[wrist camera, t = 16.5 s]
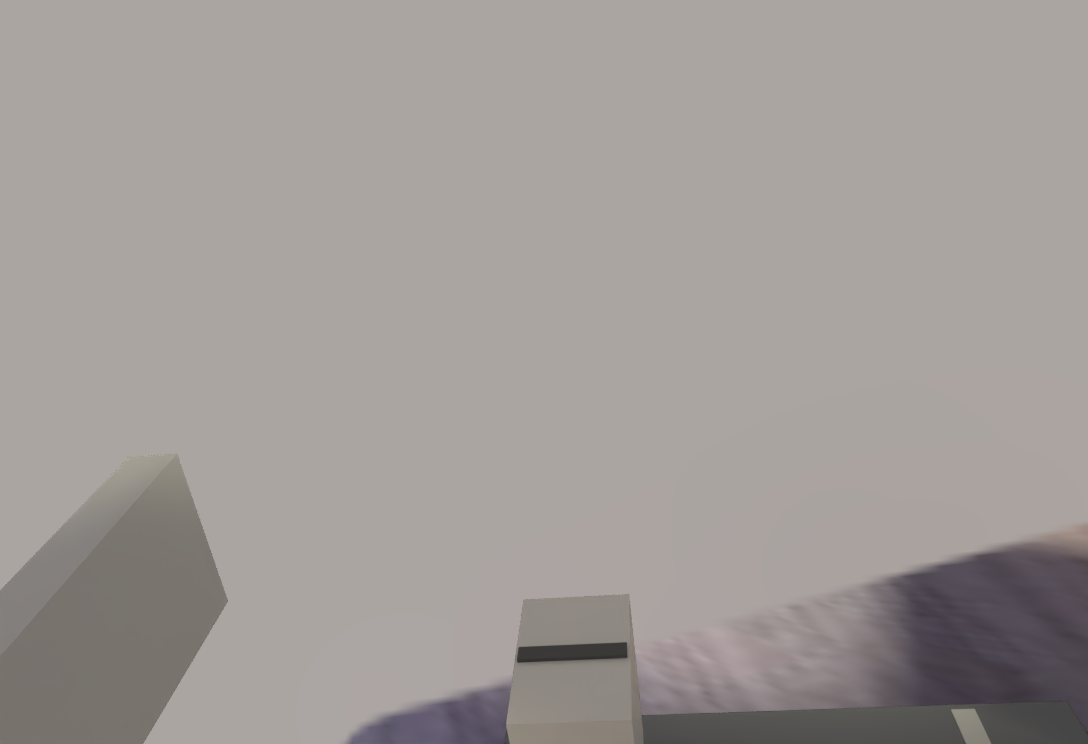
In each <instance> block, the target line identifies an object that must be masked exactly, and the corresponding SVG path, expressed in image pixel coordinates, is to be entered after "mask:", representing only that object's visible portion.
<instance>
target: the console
mask: <svg viewBox="0 0 1088 744" xmlns="http://www.w3.org/2000/svg"><path fill="white" fill-rule="evenodd" d="M642 725H643V741H644V744H1088V734H1087V733H1086V731H1085V729H1084V728H1083V726H1082V724H1081V723H1080V721H1079V720H1078V718H1077V716H1076V715H1075V713H1074V711H1073V710H1072V708H1071V706H1070V705H1069V703H1068V701H1048V702H1019V703H990V704H961V705H932V706H903V707H874V708H844V709H815V710H786V711H757V712H728V713H699V714H669V715H642ZM505 744H510V742H509V737H508V732H507V729H506V736H505Z"/></svg>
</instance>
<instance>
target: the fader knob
mask: <svg viewBox="0 0 1088 744" xmlns="http://www.w3.org/2000/svg"><path fill="white" fill-rule="evenodd" d="M506 727H507V732H508V737H509V742H510V744H644V741H643V725H642V715H641V705H640V696H639V686H638V676H637V667H636V657H635V647H634V638H633V628H632V618H631V609H630V600H629V594H624V595H606V596H584V597H565V598H545V599H526V600H523V607H522V614H521V622H520V629H519V636H518V643H517V650H516V657H515V664H514V671H513V678H512V685H511V692H510V700H509V707H508V714H507V721H506Z"/></svg>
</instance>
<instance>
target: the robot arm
mask: <svg viewBox="0 0 1088 744" xmlns="http://www.w3.org/2000/svg"><path fill="white" fill-rule="evenodd" d="M227 602H228V600H227V597H226V594H225V591H224V588H223V585H222V582H221V579H220V576H219V574H218V571H217V568H216V565H215V562H214V559H213V556H212V553H211V550H210V548H209V545H208V542H207V539H206V536H205V533H204V530H203V527H202V525H201V522H200V519H199V516H198V513H197V510H196V507H195V504H194V501H193V498H192V496H191V493H190V490H189V487H188V484H187V481H186V478H185V475H184V472H183V470H182V467H181V464H180V461H179V458H178V455H177V454H164V455H151V456H136V457H128V458H127V459H126V460H125V461H124V462H123V463H122V464H121V465H120V467H119V468H118V469H117V470H116V471H115V472H114V473H113V474H112V475H111V476H110V477H109V478H108V479H107V480H106V481H105V482H104V483H103V484H102V485H101V486H100V487H99V488H98V489H97V490H96V491H95V493H93V495H92V496H91V497H90V498H89V499H88V500H87V501H86V502H85V503H84V504H83V505H82V506H81V507H80V508H79V509H78V510H77V511H76V512H75V513H74V514H73V515H72V516H71V518H69V519H68V521H67V522H66V523H65V524H64V525H63V526H62V527H61V528H60V529H59V530H58V531H57V532H56V533H55V534H54V535H53V536H52V537H51V538H50V539H49V540H48V541H47V542H46V544H44V546H43V547H42V548H41V549H40V550H39V551H38V552H37V553H36V554H35V555H34V556H33V557H32V558H31V559H30V560H29V561H28V562H27V563H26V564H25V565H24V566H23V568H22V569H21V570H19V572H17V574H16V575H15V576H14V577H13V578H12V579H11V580H10V581H9V582H8V583H7V584H6V585H5V586H4V587H3V588H2V589H1V590H0V744H143V743H144V741H145V740H146V738H147V736H148V735H149V733H150V731H151V729H152V728H153V726H154V724H155V723H156V721H157V719H158V718H159V716H160V714H161V713H162V711H163V709H164V707H165V706H166V704H167V702H168V701H169V699H170V698H171V696H172V694H173V692H174V691H175V689H176V687H177V686H178V684H179V682H180V681H181V679H182V677H183V676H184V674H185V672H186V671H187V669H188V667H189V666H190V664H191V662H192V661H193V659H194V657H195V655H196V654H197V652H198V650H199V649H200V647H201V646H202V644H203V642H204V640H205V639H206V637H207V635H208V634H209V632H210V630H211V629H212V627H213V625H214V624H215V622H216V620H217V619H218V617H219V615H220V614H221V612H222V610H223V609H224V607H225V605H226V604H227Z"/></svg>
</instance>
